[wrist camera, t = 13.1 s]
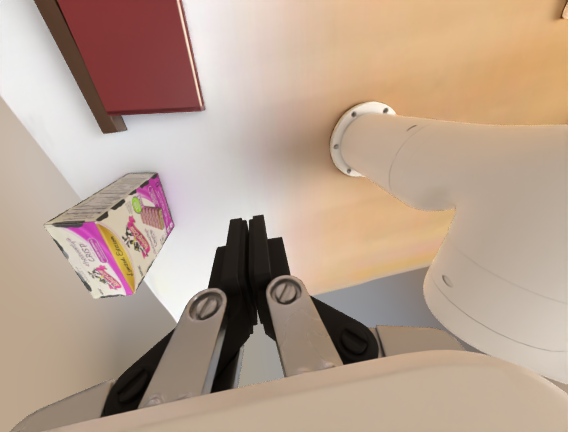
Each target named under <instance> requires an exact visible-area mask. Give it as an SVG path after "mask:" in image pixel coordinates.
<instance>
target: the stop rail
mask: <svg viewBox="0 0 568 432" xmlns="http://www.w3.org/2000/svg"><path fill="white" fill-rule="evenodd" d="M34 1H35V3H36V5H37V7H38V9H39V11H40V13H41V15H42V17H43V19H44V21H45V23H46V24H47V26H48V28H49V30H50V32H51V34H52V36H53V38H54V40H55V42H56V44H57V46H58V48H59V49H60V51H61V53H62V55H63V57H64V59H65V61H66V63H67V65H68V67H69V69H70V71H71V73H72V74H73V76H74V78H75V80H76V82H77V84H78V86H79V88H80V90H81V92H82V94H83V96H84V98H85V99H86V101H87V103H88V105H89V107H90V109H91V111H92V113H93V115H94V117H95V119H96V121H97V123H98V125H99V126H100V128H101V130H102V132H103V134H106V133H115V132H121V131H125V130H127V128H126V126H125V124H124V122H123V119H122V117H121V115H116V116H108V115H107V112H106V110H105V108H104V105H103V103H102V101H101V99H100V96H99V94H98V92H97V90H96V87H95V85H94V83H93V80H92V78H91V76H90V74H89V71H88V69H87V67H86V65H85V62H84V60H83V58H82V55H81V53H80V51H79V49H78V46H77V44H76V42H75V40H74V37H73V35H72V33H71V30H70V28H69V26H68V24H67V21H66V19H65V17H64V15H63V12H62V10H61V8H60V5H59V3H58V1H57V0H34Z"/></svg>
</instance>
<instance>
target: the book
mask: <svg viewBox="0 0 568 432" xmlns="http://www.w3.org/2000/svg"><path fill="white" fill-rule="evenodd" d="M57 1H58V3H59V5H60V8H61V10H62V12H63V15H64V17H65V19H66V21H67V24H68V26H69V28H70V30H71V33H72V35H73V37H74V40H75V42H76V44H77V46H78V49H79V51H80V53H81V55H82V58H83V60H84V62H85V65H86V67H87V69H88V71H89V74H90V76H91V78H92V80H93V83H94V85H95V87H96V90H97V92H98V94H99V96H100V99H101V101H102V103H103V105H104V108H105V110H106V112H107V115H108V116H116V115H135V114H154V113H173V112H193V111H203V110H205V107H204V102H203V97H202V93H201V88H200V83H199V79H198V74H197V69H196V65H195V60H194V55H193V51H192V46H191V41H190V37H189V32H188V27H187V23H186V18H185V13H184V9H183V4H182V0H57Z"/></svg>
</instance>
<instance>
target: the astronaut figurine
mask: <svg viewBox="0 0 568 432" xmlns="http://www.w3.org/2000/svg"><path fill="white" fill-rule="evenodd" d="M562 17H563V18H564V19H568V2H567V4H566V6H565V8H564V11H563V14H562Z"/></svg>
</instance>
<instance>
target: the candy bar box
mask: <svg viewBox="0 0 568 432" xmlns="http://www.w3.org/2000/svg"><path fill="white" fill-rule="evenodd" d="M44 227H45V228H46V229H47V231H48V232H49V234H50V235H51V237H52V238H53V240H54V241H55V242H56V244H57V245H58V247H59V248H60V250H61V251H62V253H63V254H64V255H65V257H66V259H67V260H68V261H69V263H70V264H71V266H72V267H73V269H74V270H75V272H76V273H77V275H78V276H79V277H80V279H81V281H82V282H83V283H84V285H85V286H86V288H87V289H88V291H89V292H90V294H91V295H92V297H93V298H94V299H96V298H105V297H114V296H119V295H121V296H127V295H132V294H135V292H136V290H137V289H138V287H139V285H140V284H141V281H142V280H143V278H144V277H145V275H146V273H147V272H148V270H149V268H150V267H151V265H152V263H153V261H154V260H155V258H156V256H157V254H158V253H159V251H160V250H161V248H162V246H163V244H164V243H165V241H166V239H167V238H168V236H169V234H170V233H171V231H172V229H173V228H174V224H173V221H172V218H171V215H170V212H169V209H168V205H167V202H166V199H165V196H164V193H163V189H162V186H161V183H160V180H159V177H158V174H157V173H146V174H127V175H125V176H123V177H122V178H120V179H118V180H117V181H115V182H114V183H112V184H110V185H109V186H107V187H105V188H104V189H102V190H100V191H99V192H97V193H95V194H93V195H92V196H90V197H89V198H87V199H85V200H84V201H82V202H80V203H79V204H77V205H75V206H74V207H72V208H70V209H68V210H67V211H65V212H64V213H62V214H60V215H58V216H57V217H55V218H53V219H52V220H50V221H48V222H47V223H45V224H44Z"/></svg>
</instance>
